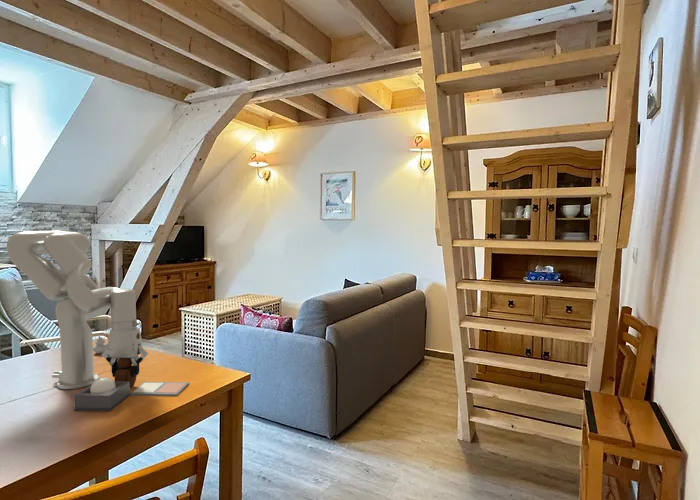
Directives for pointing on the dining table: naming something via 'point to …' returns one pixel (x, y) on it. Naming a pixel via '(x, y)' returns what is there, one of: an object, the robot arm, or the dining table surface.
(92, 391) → the dome
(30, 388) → the dining table surface
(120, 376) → the wooden figurine
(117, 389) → the dome housing
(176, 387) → the grey flat tray
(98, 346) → the rubber duck
